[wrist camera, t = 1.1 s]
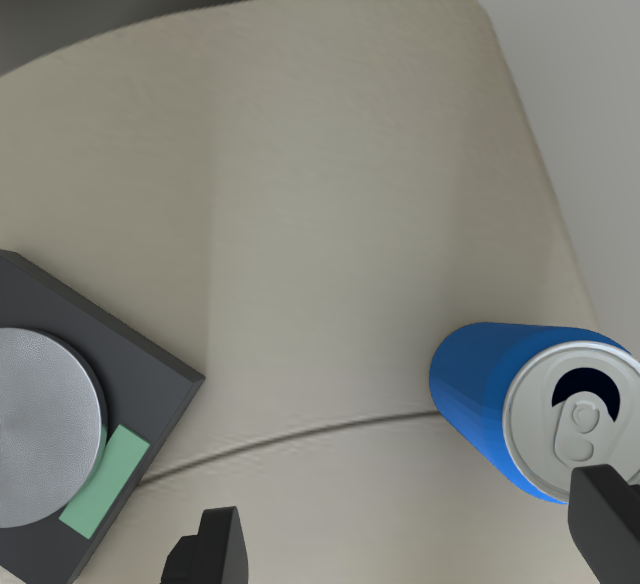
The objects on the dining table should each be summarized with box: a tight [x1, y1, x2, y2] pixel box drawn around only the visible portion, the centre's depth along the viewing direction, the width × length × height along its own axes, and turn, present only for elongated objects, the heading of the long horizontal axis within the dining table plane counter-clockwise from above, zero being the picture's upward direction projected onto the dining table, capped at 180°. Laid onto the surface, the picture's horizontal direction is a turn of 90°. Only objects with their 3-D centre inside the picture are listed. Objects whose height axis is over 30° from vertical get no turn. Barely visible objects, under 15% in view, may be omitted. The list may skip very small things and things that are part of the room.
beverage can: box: [429, 322, 640, 504], centre depth 23 cm, size 6×6×12 cm
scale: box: [0, 249, 206, 584], centre depth 28 cm, size 14×14×3 cm
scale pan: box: [0, 327, 108, 528], centre depth 26 cm, size 10×10×1 cm
